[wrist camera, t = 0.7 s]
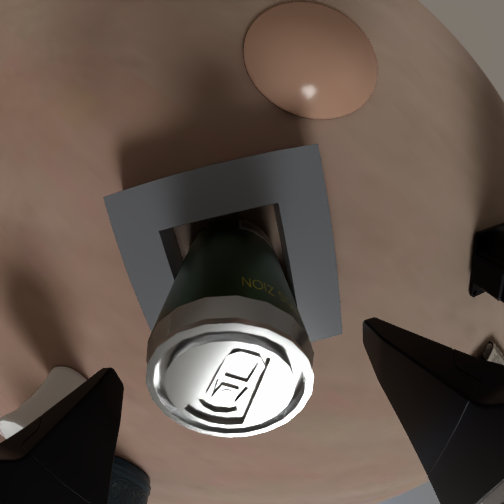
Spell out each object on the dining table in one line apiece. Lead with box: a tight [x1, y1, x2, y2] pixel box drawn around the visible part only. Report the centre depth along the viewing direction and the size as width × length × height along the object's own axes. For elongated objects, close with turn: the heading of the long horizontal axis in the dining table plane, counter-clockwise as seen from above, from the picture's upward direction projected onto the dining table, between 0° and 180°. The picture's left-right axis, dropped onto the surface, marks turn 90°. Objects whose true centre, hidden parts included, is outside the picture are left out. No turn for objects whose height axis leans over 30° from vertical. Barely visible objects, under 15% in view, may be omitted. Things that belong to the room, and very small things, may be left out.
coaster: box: [244, 2, 378, 120], centre depth 15 cm, size 9×9×1 cm
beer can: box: [146, 218, 314, 437], centre depth 13 cm, size 5×5×12 cm
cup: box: [0, 366, 87, 439], centre depth 18 cm, size 9×9×10 cm
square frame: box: [103, 144, 342, 342], centre depth 17 cm, size 12×12×3 cm
